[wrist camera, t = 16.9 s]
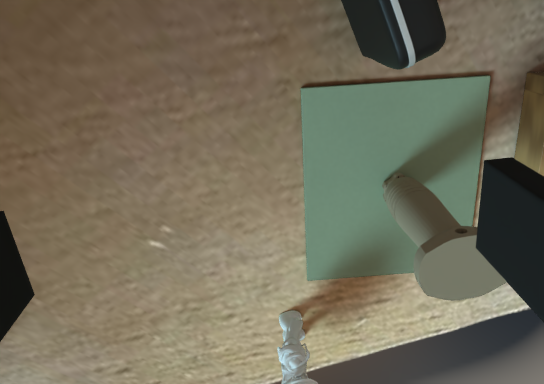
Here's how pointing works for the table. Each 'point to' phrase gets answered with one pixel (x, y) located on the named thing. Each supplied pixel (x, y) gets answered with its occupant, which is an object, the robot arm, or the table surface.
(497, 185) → the robot arm
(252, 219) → the table surface
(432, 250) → the handle
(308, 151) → the mat
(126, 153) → the table surface
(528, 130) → the rack
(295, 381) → the flower shoulder figurine
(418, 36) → the battery charger
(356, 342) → the table surface
